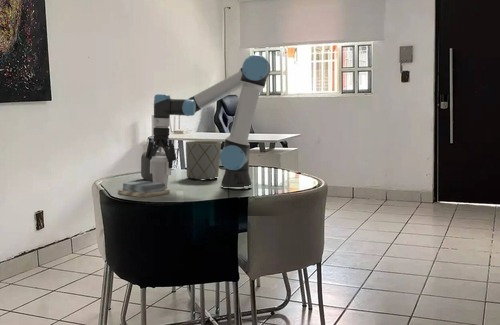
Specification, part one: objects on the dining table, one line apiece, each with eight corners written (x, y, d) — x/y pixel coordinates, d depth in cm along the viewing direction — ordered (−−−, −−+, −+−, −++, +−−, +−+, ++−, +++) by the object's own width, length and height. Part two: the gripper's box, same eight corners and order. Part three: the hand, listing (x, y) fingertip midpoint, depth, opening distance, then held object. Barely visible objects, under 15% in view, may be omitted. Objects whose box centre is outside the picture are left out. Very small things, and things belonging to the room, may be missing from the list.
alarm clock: (167, 182, 290) (168, 152, 288) (145, 182, 286) (145, 152, 284) (161, 178, 305) (161, 149, 304) (140, 178, 301) (140, 149, 300)
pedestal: (169, 193, 256) (169, 183, 255) (145, 197, 242) (145, 187, 241) (142, 189, 264) (142, 180, 263) (118, 193, 250) (118, 183, 250)
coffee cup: (152, 189, 265) (153, 157, 264) (148, 186, 274) (148, 155, 272) (172, 188, 269) (173, 157, 267) (167, 186, 278) (167, 155, 276)
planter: (177, 178, 308) (178, 141, 306) (202, 175, 322) (203, 140, 320) (202, 182, 295) (203, 144, 293) (227, 179, 310) (228, 143, 308)
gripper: (138, 126, 271) (137, 172, 273) (174, 128, 259) (173, 177, 262) (149, 125, 277) (148, 171, 279) (184, 128, 266) (183, 175, 268)
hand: (160, 174), depth 271 cm, fingers closed on coffee cup, 9 cm apart
